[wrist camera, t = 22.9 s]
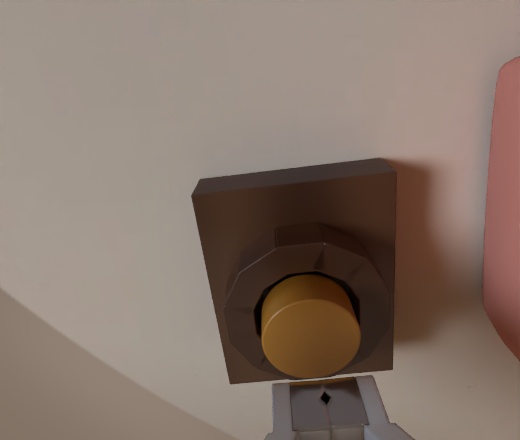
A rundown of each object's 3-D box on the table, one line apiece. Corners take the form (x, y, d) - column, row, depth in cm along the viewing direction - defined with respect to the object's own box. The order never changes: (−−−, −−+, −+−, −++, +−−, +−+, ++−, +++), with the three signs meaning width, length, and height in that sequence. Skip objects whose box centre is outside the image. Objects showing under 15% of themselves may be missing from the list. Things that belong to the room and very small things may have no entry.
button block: (233, 352, 21) (226, 416, 17) (199, 178, 17) (181, 212, 13) (379, 339, 20) (406, 401, 17) (380, 157, 16) (414, 185, 13)
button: (266, 350, 16) (267, 382, 14) (256, 278, 15) (255, 305, 13) (352, 342, 16) (362, 374, 14) (349, 268, 14) (360, 295, 13)
